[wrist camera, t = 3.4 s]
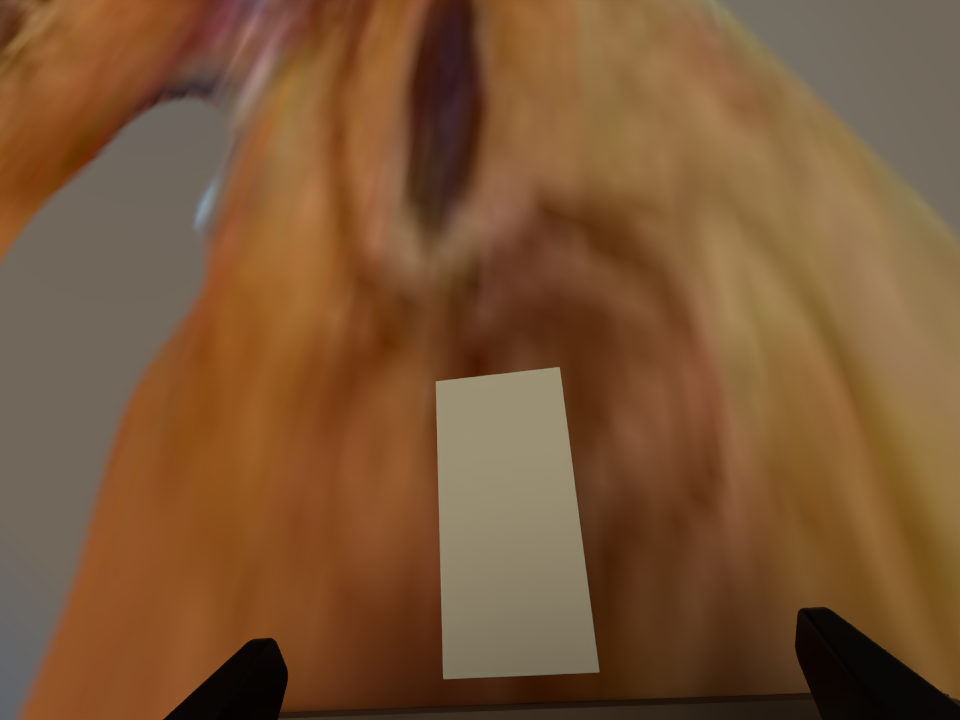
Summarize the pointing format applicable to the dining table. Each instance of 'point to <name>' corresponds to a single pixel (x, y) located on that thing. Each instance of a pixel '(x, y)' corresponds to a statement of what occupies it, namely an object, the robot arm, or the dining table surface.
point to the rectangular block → (510, 530)
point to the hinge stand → (601, 710)
